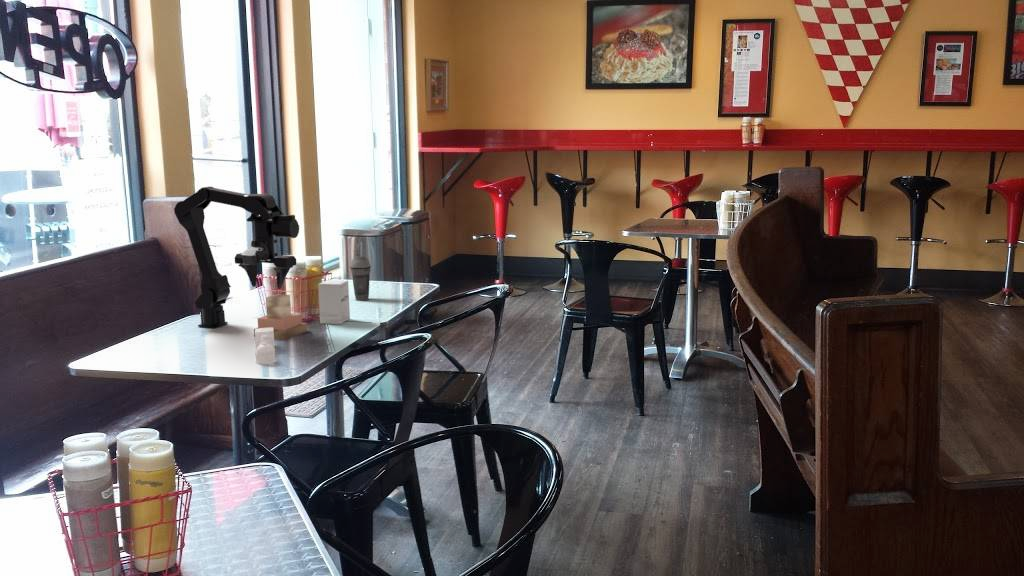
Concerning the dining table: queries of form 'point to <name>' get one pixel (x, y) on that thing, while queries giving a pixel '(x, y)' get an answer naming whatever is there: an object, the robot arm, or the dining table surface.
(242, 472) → the dining table surface
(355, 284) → the beverage cup
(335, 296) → the supplement box
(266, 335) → the container set
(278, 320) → the terracotta top slab
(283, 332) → the walnut base slab
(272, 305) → the birch cube
